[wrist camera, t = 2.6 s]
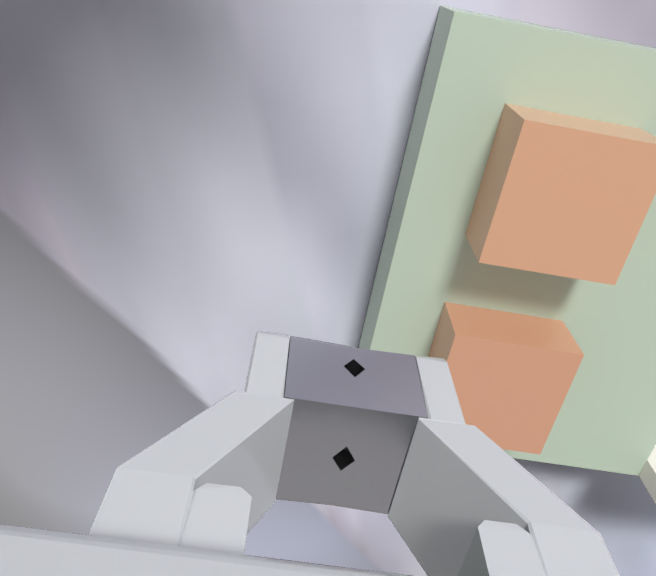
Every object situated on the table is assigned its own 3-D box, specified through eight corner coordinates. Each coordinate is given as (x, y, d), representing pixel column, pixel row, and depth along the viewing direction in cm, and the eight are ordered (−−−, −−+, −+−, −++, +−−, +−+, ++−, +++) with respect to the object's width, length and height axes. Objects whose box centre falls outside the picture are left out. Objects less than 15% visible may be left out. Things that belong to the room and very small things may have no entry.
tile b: (444, 301, 25) (455, 334, 23) (562, 320, 26) (584, 354, 24) (415, 399, 28) (422, 437, 26) (523, 415, 28) (540, 454, 26)
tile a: (504, 103, 22) (524, 119, 20) (641, 128, 22) (675, 147, 20) (465, 234, 24) (478, 262, 22) (589, 255, 24) (615, 285, 22)
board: (440, 5, 23) (454, 11, 20) (793, 75, 24) (850, 90, 22) (347, 394, 31) (348, 434, 29) (613, 433, 32) (638, 475, 30)
